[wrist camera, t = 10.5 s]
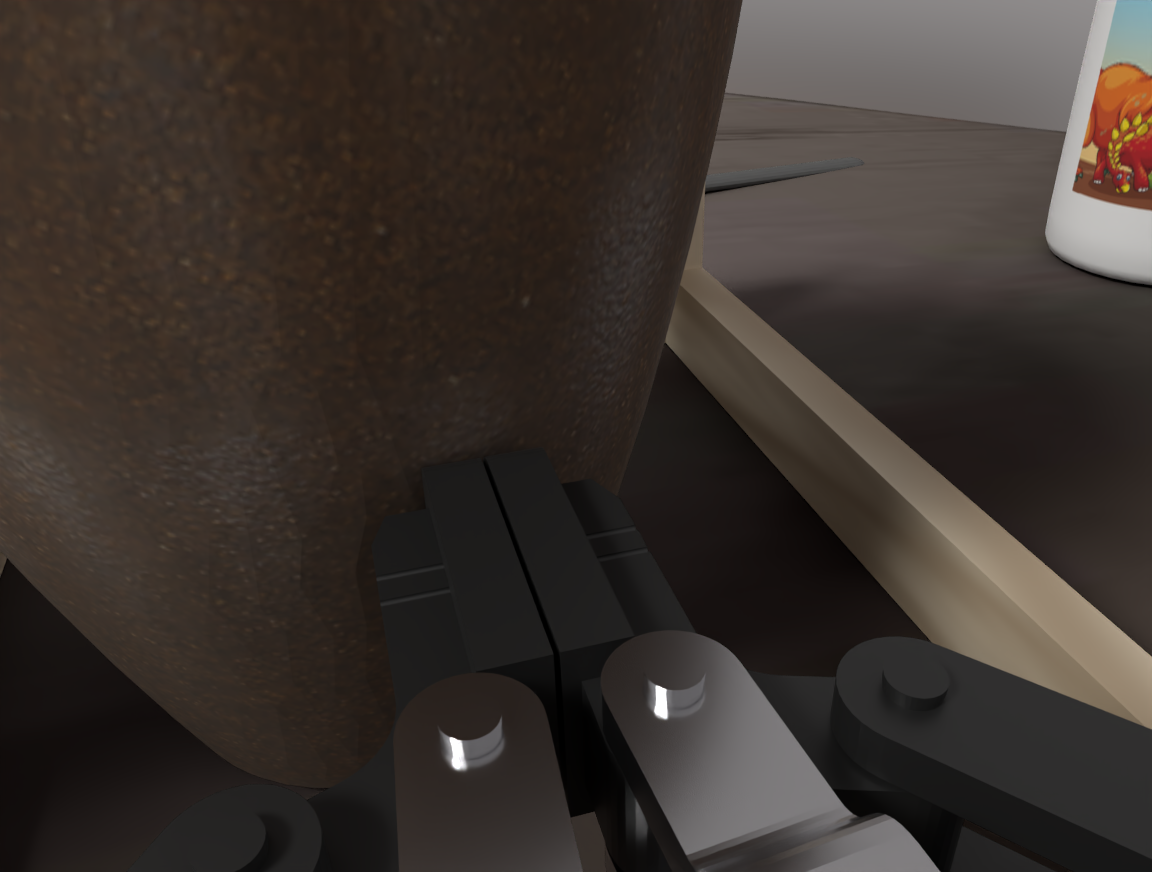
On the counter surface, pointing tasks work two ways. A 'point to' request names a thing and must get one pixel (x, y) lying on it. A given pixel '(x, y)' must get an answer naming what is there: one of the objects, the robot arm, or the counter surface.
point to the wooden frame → (901, 510)
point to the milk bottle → (1109, 151)
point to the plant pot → (319, 311)
